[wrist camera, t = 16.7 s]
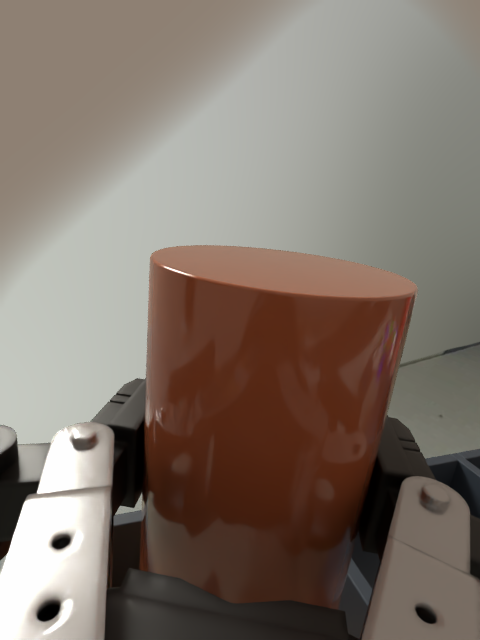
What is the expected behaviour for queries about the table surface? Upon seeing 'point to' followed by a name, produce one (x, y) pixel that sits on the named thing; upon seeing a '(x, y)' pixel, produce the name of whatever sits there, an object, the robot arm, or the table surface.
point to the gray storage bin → (452, 470)
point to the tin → (264, 416)
